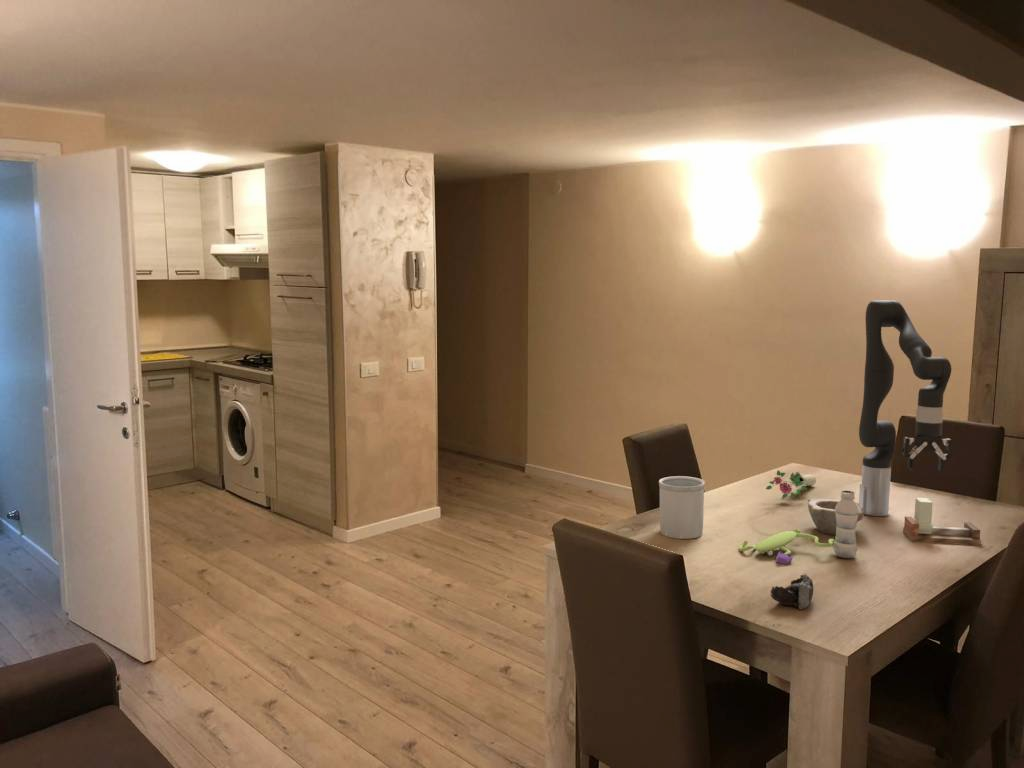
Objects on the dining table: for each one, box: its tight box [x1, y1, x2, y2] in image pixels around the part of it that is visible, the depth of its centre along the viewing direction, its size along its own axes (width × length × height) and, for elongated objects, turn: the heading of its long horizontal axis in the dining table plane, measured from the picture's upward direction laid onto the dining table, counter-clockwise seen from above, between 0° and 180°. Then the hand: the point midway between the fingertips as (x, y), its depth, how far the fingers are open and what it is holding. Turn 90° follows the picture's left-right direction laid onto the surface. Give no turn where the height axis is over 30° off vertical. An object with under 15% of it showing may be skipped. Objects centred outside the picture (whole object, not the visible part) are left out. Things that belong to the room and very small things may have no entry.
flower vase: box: [765, 469, 817, 500], centre depth 310 cm, size 12×12×35 cm
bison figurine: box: [770, 573, 814, 610], centre depth 208 cm, size 12×7×10 cm
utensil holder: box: [658, 475, 706, 540], centre depth 264 cm, size 15×15×18 cm
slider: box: [912, 497, 934, 534], centre depth 258 cm, size 4×7×10 cm, turn 169°
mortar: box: [807, 497, 865, 536], centre depth 266 cm, size 17×17×9 cm
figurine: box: [738, 529, 835, 565], centre depth 246 cm, size 18×27×6 cm
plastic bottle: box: [832, 490, 859, 559], centre depth 240 cm, size 6×7×20 cm
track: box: [902, 516, 982, 546], centre depth 258 cm, size 20×10×6 cm, turn 79°
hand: (925, 470), depth 257 cm, fingers open, 8 cm apart
